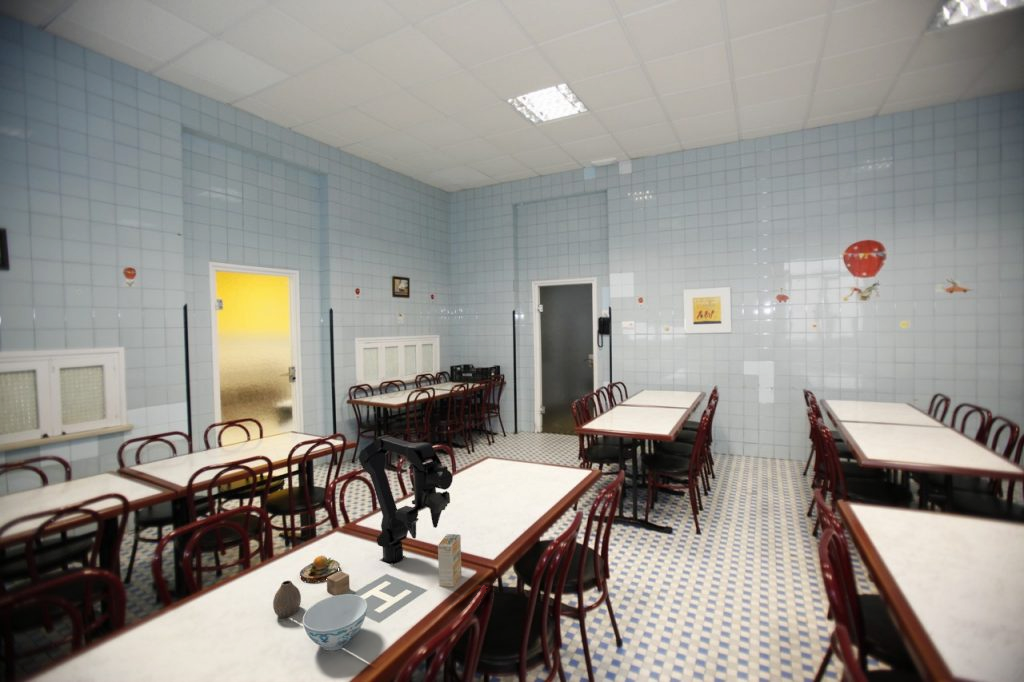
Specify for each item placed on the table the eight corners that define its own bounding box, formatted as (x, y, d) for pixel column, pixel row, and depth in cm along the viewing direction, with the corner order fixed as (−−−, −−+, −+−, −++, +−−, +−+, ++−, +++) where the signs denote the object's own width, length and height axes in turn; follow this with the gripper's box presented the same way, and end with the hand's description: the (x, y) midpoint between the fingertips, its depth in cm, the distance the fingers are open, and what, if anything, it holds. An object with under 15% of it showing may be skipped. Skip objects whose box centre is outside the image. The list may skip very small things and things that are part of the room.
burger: (340, 562, 158) (339, 540, 157) (339, 579, 146) (338, 556, 146) (302, 568, 154) (301, 546, 154) (297, 587, 143) (296, 563, 143)
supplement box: (454, 589, 138) (452, 546, 138) (438, 588, 139) (437, 545, 139) (462, 575, 146) (461, 534, 146) (447, 574, 147) (446, 533, 147)
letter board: (336, 604, 132) (336, 602, 132) (386, 575, 147) (386, 573, 147) (379, 625, 122) (379, 622, 122) (427, 592, 137) (427, 590, 137)
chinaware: (306, 671, 106) (304, 638, 106) (302, 634, 119) (301, 604, 119) (373, 649, 113) (372, 617, 113) (362, 616, 126) (361, 588, 126)
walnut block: (327, 594, 138) (326, 577, 138) (340, 587, 142) (339, 570, 141) (336, 598, 135) (336, 581, 135) (349, 591, 139) (349, 574, 139)
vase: (306, 608, 131) (305, 577, 130) (287, 623, 124) (286, 591, 124) (287, 604, 133) (286, 574, 133) (267, 619, 126) (266, 587, 126)
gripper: (419, 497, 135) (421, 550, 135) (461, 479, 150) (463, 527, 151) (393, 491, 142) (395, 541, 142) (436, 474, 157) (438, 520, 157)
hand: (424, 532), depth 148 cm, fingers open, 9 cm apart
